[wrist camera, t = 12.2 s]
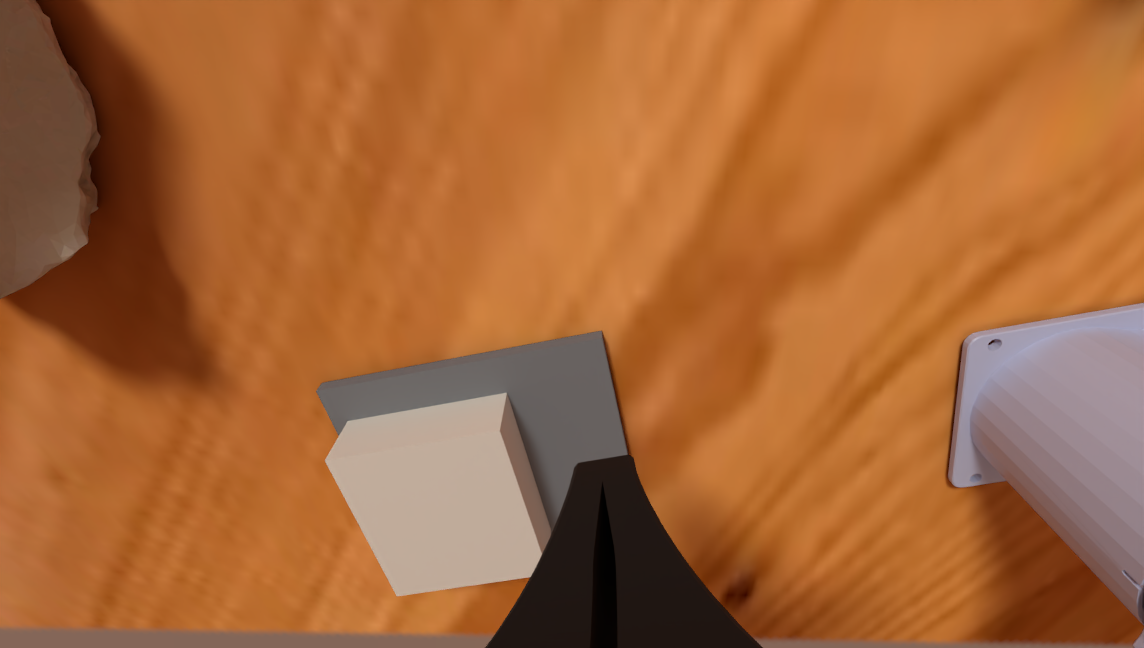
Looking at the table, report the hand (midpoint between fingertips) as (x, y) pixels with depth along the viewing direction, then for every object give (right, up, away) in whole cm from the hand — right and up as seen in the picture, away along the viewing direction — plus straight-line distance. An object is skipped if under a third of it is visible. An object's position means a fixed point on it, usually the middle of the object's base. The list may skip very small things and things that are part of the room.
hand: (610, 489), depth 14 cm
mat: (-4, -3, +13) cm, 14 cm away
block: (-3, -3, +11) cm, 11 cm away
